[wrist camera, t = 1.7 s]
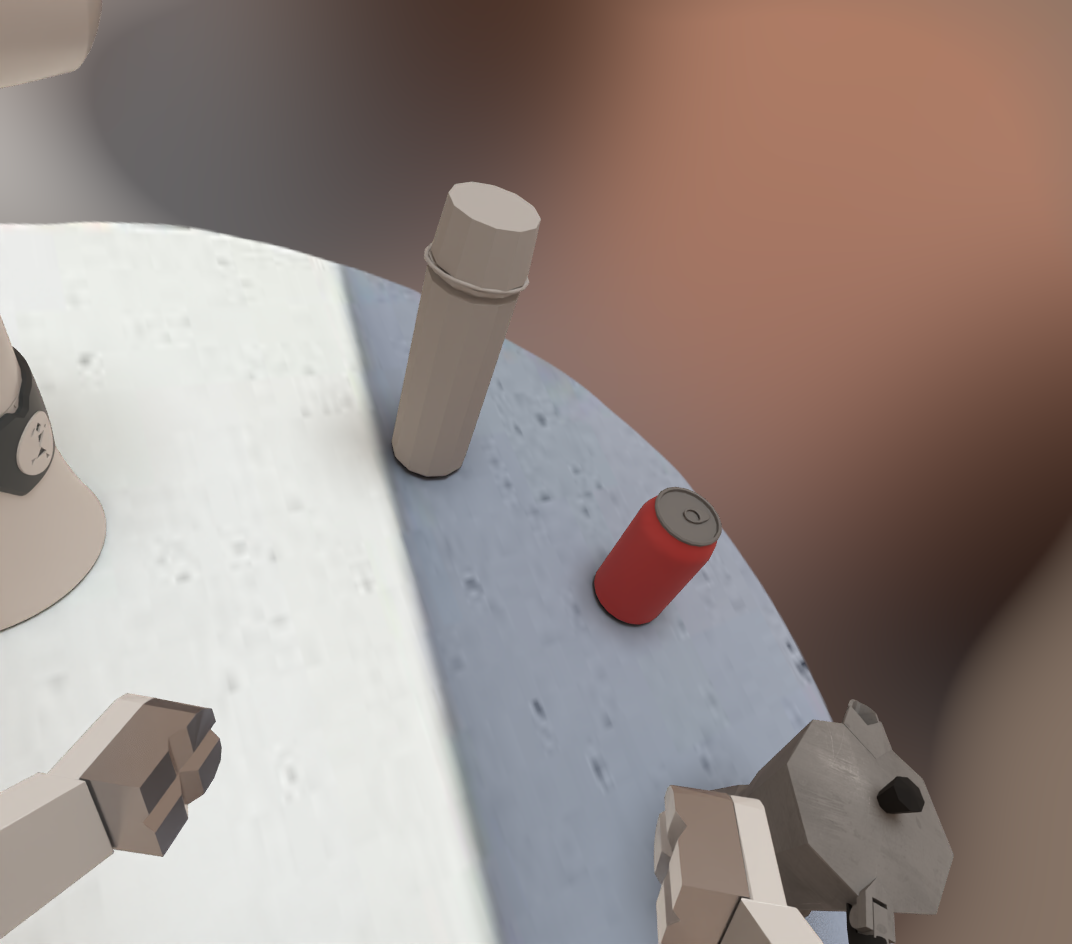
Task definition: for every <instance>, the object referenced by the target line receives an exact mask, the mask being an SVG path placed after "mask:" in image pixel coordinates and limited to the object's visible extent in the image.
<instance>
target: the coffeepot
mask: <svg viewBox="0 0 1072 944" xmlns="http://www.w3.org/2000/svg"><path fill="white" fill-rule="evenodd" d="M710 791H715V792H721V793H727V794H728V795H733V796H740V797H747V798H754V799H758V800H760V801H761V803H762V804H763V806H764V808H765V813H766V817H767V821H768V826H769V830H770V834H771V839H772V843H773V847H774V852H775V856H776V860H777V864H778V869H779V873H780V877H781V882H782V886H783V890H784V895H785V899H786V903H787V906H790V907H795V908H797V909H798V910H799V912H800V913H801V914H802V916H803V917H804V918H805V917H807V916H808V915H809V914H810V912H811V911H812V910H814V911H846V912H847V931H848V940H849V944H891V943H895V925H894V913H909V914H929V915H936V913H937V910H938V906H939V903H940V900H941V896H942V893H943V890H944V886H945V883H946V880H947V876H948V873H949V869H950V866H951V863H952V859H953V856H954V855H953V852H952V850H951V847H950V845H949V842H948V840H947V837H946V835H945V832H944V830H943V828H942V825H941V823H940V820H939V818H938V815H937V813H936V810H935V808H934V805H933V803H932V801H931V798H930V796H929V793H928V791H927V788H926V786H925V783H924V781H923V779H922V778H921V777H920V776H919V775H918V774H917V773H916V772H915V771H914V770H912V769H911V768H910V767H909V766H908V765H907V764H906V763H905V762H904V761H903V760H902V759H901V758H900V757H899V756H898V755H896V754H895V753H894V752H893V751H892V749H891V746H890V743H889V741H888V738H887V735H886V733H885V730H884V728H883V726H882V723H881V722H879V720H878V717H877V714H876V713H875V712H874V711H873V710H872V709H870V708H869V707H868V706H866V705H864V704H862V703H859V702H858V701H856V700H854V699H852V700H850V702H849V705H848V708H847V710H846V713H845V716H844V719H843V721H842V723H834V722H827V721H819V720H812V721H811V722H810V723H809V724H808V725H807V726H806V727H805V728H804V729H802V730H801V731H800V732H799V733H798V734H797V735H796V736H795V737H794V738H793V739H792V740H791V741H790V742H789V743H788V744H787V745H786V746H785V747H784V748H783V749H782V750H781V751H779V752H778V753H777V754H776V755H775V756H774V757H773V758H772V759H771V760H770V761H769V762H768V763H767V764H766V765H765V766H764V767H763V768H762V769H761V770H760V771H759V772H758V773H757V774H756V776H755V777H754V779H753V780H752V781H751V783H750V784H749V785H736V786H731V787H726V788H721V789H715V790H710Z"/></svg>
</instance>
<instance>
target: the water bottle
mask: <svg viewBox="0 0 1072 944" xmlns="http://www.w3.org/2000/svg"><path fill="white" fill-rule="evenodd" d="M540 220H541V218H540V217H539V215H538V213H537V212H536V210H535V208H534V207H533V206H532V205H531V204H529V203H528V202H526V201H525V200H524V199H522V198H521V197H519V196H518V195H516V194H514V193H512V192H509V191H507V190H504V189H502V188H499V187H497V186H494V185H488V184H483V183H476V182H467V183H460V184H455V185H454V187H453V188H452V189H451V190H450V191H449V193H448V196H447V199H446V202H445V205H444V208H443V212H442V215H441V218H440V221H439V224H438V227H437V231H436V234H435V237H434V240H433V242H432V243H431V244H430V245H429V246H428V247H427V248H426V249H425V252H424V259H425V260H426V262H427V263H428V265H427V269H426V274H425V279H424V283H423V288H422V293H421V298H420V303H419V308H418V313H417V318H416V323H415V328H414V333H413V338H412V343H411V348H410V353H409V358H408V363H407V368H406V373H405V378H404V383H403V388H402V393H401V398H400V403H399V408H398V413H397V418H396V423H395V428H394V433H393V438H392V445H393V450H394V454H395V457H396V458H397V459H398V460H399V461H400V462H401V463H402V464H403V465H404V466H405V467H406V468H407V469H408V470H409V471H412V472H415V473H418V474H420V475H423V476H426V477H429V476H445V475H448V474H450V473H451V472H453V471H455V470H457V469H458V468H460V467H461V465H462V463H463V460H464V458H465V455H466V453H467V450H468V447H469V444H470V441H471V438H472V435H473V432H474V429H475V426H476V423H477V420H478V417H479V414H480V411H481V408H482V405H483V402H484V399H485V396H486V393H487V390H488V387H489V384H490V381H491V378H492V375H493V372H494V368H495V365H496V362H497V359H498V356H499V353H500V350H501V347H502V344H503V341H504V338H505V335H506V332H507V329H508V326H509V323H510V320H511V317H512V314H513V311H514V308H515V305H516V302H517V299H518V296H519V293H520V291H522V290H524V289H525V288H526V286H527V285H528V284H529V280H528V277H527V276H528V273H529V269H530V265H531V260H532V256H533V251H534V247H535V242H536V238H537V234H538V229H539V225H540ZM429 251H430V252H429Z"/></svg>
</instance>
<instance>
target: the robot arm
mask: <svg viewBox="0 0 1072 944" xmlns="http://www.w3.org/2000/svg"><path fill="white" fill-rule="evenodd" d="M101 11H102V0H0V89H1V88H6V87H11V86H16V85H21V84H25V83H29V82H33V81H37V80H41V79H44V78H49V77H53V76H57V75H61V74H65V73H69V72H72V71H74V70H76V69H78V68H79V67H80V66H81V65H82V63H83V62H84V60H85V58H86V57H87V55H88V53H89V51H90V50H91V47H92V45H93V42H94V39H95V36H96V34H97V31H98V26H99V21H100V16H101ZM105 535H106V518H105V514H104V510H103V508H102V505H101V503H100V502H99V500H98V498H97V497H96V496H95V494H94V493H93V492H92V491H91V490H90V489H89V488H88V487H87V486H86V485H85V484H84V483H83V482H82V481H81V480H80V479H79V478H78V477H77V475H76V474H75V473H74V472H73V471H72V469H71V468H70V467H69V465H68V464H67V462H66V461H65V460H64V458H63V457H62V455H61V454H60V452H59V451H58V449H57V447H56V446H55V442H54V437H53V432H52V428H51V424H50V420H49V417H48V413H47V410H46V408H45V405H44V402H43V399H42V397H41V394H40V391H39V389H38V387H37V384H36V382H35V379H34V377H33V375H32V372H31V370H30V368H29V366H28V364H27V362H26V360H25V359H24V357H23V356H22V355H21V354H20V353H19V352H18V351H17V350H16V349H15V348H14V347H13V346H12V345H11V342H10V340H9V337H8V334H7V332H6V329H5V326H4V324H3V321H2V318H1V315H0V630H3V629H5V628H8V627H10V626H13V625H15V624H17V623H20V622H22V621H24V620H26V619H28V618H30V617H32V616H34V615H36V614H38V613H39V612H41V611H43V610H44V609H46V608H48V607H49V606H51V605H52V604H54V603H55V602H57V601H58V600H59V599H61V598H62V597H63V596H65V595H66V594H67V593H68V592H69V591H71V590H72V589H73V588H74V587H75V586H76V585H77V584H78V583H79V582H80V581H81V580H82V579H83V578H84V577H85V575H86V574H87V573H88V572H89V570H90V569H91V568H92V566H93V565H94V563H95V561H96V560H97V558H98V556H99V554H100V552H101V549H102V547H103V544H104V540H105ZM215 722H216V721H215V717H214V714H213V711H212V709H211V708H206V707H200V706H195V705H189V704H184V703H179V702H173V701H168V700H162V699H157V698H153V697H147V696H141V695H135V694H129V693H127V694H125V695H123V696H121V697H120V698H118V699H116V700H115V701H114V702H113V703H112V704H111V705H110V706H109V707H108V709H107V710H106V711H105V712H104V713H103V714H102V715H101V716H100V717H99V718H98V719H97V720H96V721H95V722H94V724H93V725H92V726H91V727H90V728H89V729H88V730H87V731H86V732H85V733H84V734H83V735H82V736H81V738H80V739H79V740H78V741H77V742H76V743H75V744H74V745H73V746H72V747H71V748H70V749H69V750H68V751H67V753H66V754H65V755H64V756H63V757H62V758H61V759H60V760H59V761H58V762H57V763H56V764H55V765H54V767H53V768H52V769H51V770H50V771H49V772H48V773H47V774H46V773H39V772H38V773H37V774H35V775H33V776H31V777H29V778H27V779H25V780H23V781H21V782H19V783H18V784H16V785H14V786H12V787H10V788H8V789H6V790H4V791H2V792H0V939H1V938H2V937H4V936H5V935H6V934H8V933H9V932H10V931H12V930H13V929H14V928H16V927H17V926H18V925H19V924H21V923H22V922H23V921H25V920H26V919H27V918H29V917H30V916H31V915H33V914H34V913H35V912H37V911H38V910H39V909H41V908H42V907H43V906H44V905H46V904H47V903H48V902H50V901H51V900H52V899H54V898H55V897H56V896H58V895H59V894H60V893H62V892H63V891H64V890H66V889H67V888H68V887H69V886H71V885H72V884H73V883H75V882H76V881H77V880H79V879H80V878H81V877H83V876H84V875H85V874H87V873H88V872H89V871H91V870H92V869H93V868H95V867H96V866H97V865H98V864H100V863H101V862H102V861H104V860H105V859H106V858H108V857H109V856H110V855H112V854H113V853H114V850H121V851H128V852H134V853H141V854H147V855H154V856H160V857H163V856H164V855H165V853H166V852H167V850H168V848H169V847H170V845H171V844H172V842H173V841H174V839H175V838H176V836H177V835H178V833H179V832H180V830H181V829H182V827H183V826H184V824H185V823H186V821H187V819H188V804H189V803H191V802H192V801H194V800H195V799H197V798H198V797H200V796H202V795H203V794H204V793H205V792H206V790H207V788H208V787H209V785H210V784H211V782H212V780H213V779H214V777H215V774H216V771H217V769H218V766H219V763H220V760H221V749H222V747H221V743H220V738H219V737H218V736H217V735H216V734H215V733H214V732H213V731H212V730H211V727H212V726H213V725H214V723H215ZM664 799H665V811H663V812H662V813H660V814H659V817H658V821H657V825H656V832H655V840H654V871H655V875H656V877H657V878H658V880H659V882H660V883H661V885H662V886H661V889H660V892H659V896H658V899H657V902H656V910H657V927H658V943H659V944H823V942H822V941H821V940H820V938H819V937H818V936H817V934H816V933H815V932H814V930H813V929H812V928H811V926H810V925H809V924H808V922H807V921H806V920H805V918H804V917H803V916H802V914H801V913H800V912H799V910H798V909H797V908H795V907H790V906H787V903H786V899H785V895H784V890H783V886H782V882H781V877H780V873H779V869H778V864H777V860H776V856H775V852H774V847H773V843H772V839H771V834H770V830H769V826H768V821H767V817H766V813H765V808H764V806H763V804H762V803H761V801H760V800H758V799H754V798H747V797H740V796H733V795H728V794H727V793H721V792H715V791H708V790H702V789H695V788H688V787H682V786H675V785H670V786H669V787H668V788H667V791H666V794H665V797H664ZM113 849H114V850H113Z"/></svg>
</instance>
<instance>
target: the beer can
mask: <svg viewBox="0 0 1072 944" xmlns="http://www.w3.org/2000/svg"><path fill="white" fill-rule="evenodd" d="M721 527H722V525H721V522H720V518H719V516H718V514H717V512H716V511H715V509H714V508H713V506H711V504H710V503H709V502H708V501H707V500H705V499H704V498H703V497H702V496H700V495H699V494H697V493H695V492H693V491H691V490H688V489H685V488H679V487H671V488H666V489H664V490H663V491H661V492H660V493H659V495H658V496H656V497H654V498H652V499H650V500H649V501H647V502H646V503H645V504H644V505H643V506H642V508H641V509H640V510H639V512H638V513H637V515H636V516H635V518H634V519H633V520H632V522H631V523H630V525H629V526H628V528H627V529H626V530H625V532H624V533H623V535H622V536H621V538H620V539H619V541H618V542H617V543H616V545H615V546H614V548H613V549H612V551H611V552H610V553H609V555H608V556H607V558H606V559H605V561H604V562H603V563H602V565H601V566H600V568H599V569H598V571H597V572H596V576H595V580H594V584H595V591H596V594H597V597H598V599H599V601H600V603H601V604H602V605H603V607H604V608H605V609H606V610H607V611H608V612H609V613H610V614H611V615H613V616H614V617H616V618H617V619H619V620H621V621H624V622H626V623H630V624H643V623H648V622H650V621H652V620H653V619H655V618H656V617H657V616H658V615H659V614H660V613H661V612H662V611H663V610H664V608H665V607H666V606H667V605H668V604H669V603H670V602H671V601H672V600H673V599H674V598H675V596H676V595H677V594H678V593H679V592H680V591H681V590H682V589H683V588H684V587H685V585H686V584H687V583H688V582H689V581H690V580H691V579H692V578H693V577H694V576H695V575H696V573H697V572H698V571H699V570H700V569H701V568H702V567H703V566H704V565H705V564H706V562H707V561H708V560H709V559H710V557H711V555H712V553H713V551H714V549H715V546H716V543H717V540H718V538H719V536H720V534H721Z"/></svg>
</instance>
